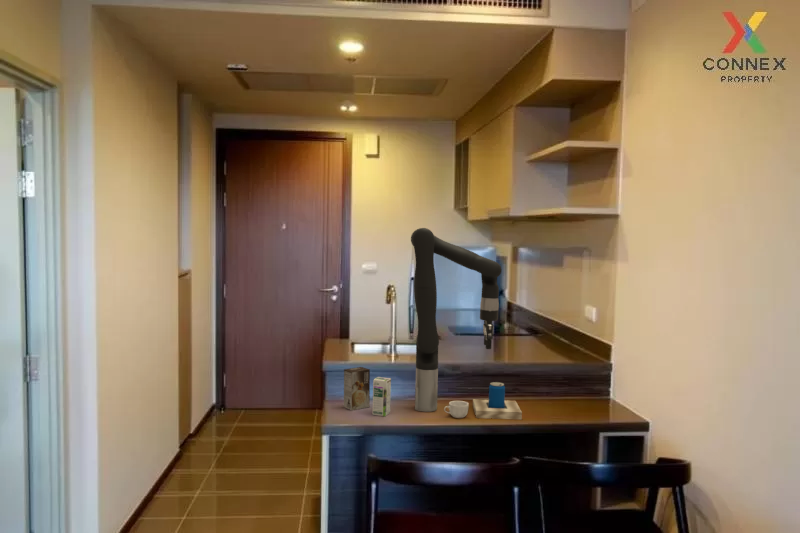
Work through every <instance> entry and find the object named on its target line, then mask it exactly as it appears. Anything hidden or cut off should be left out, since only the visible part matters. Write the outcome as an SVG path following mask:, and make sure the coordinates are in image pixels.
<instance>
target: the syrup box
mask: <svg viewBox="0 0 800 533" xmlns="http://www.w3.org/2000/svg"><path fill="white" fill-rule="evenodd" d="M391 384H392V378H391V377H383V376H382V377H381V376H377V377H375V378H374V379H373V381H372V386H373V387H372V413H371V414H372V416H379V417H387V416H388V415H389V414H391V393H392V392H391V388H392V387H391V386H392V385H391Z"/></svg>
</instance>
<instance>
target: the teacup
mask: <svg viewBox="0 0 800 533" xmlns="http://www.w3.org/2000/svg"><path fill="white" fill-rule="evenodd" d="M469 404H470V403H469V402H468V401H463V400H452V401H451V400H450V401H449V402H448V405H446V406H444V407H443V411H444V412H445V413H446V414H450V416H452V417H453V418H456V419H463V418H465V417H466V416H467V414H468V413H469ZM446 408H447V409H448V410H449V411H446Z"/></svg>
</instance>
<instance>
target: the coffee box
mask: <svg viewBox="0 0 800 533" xmlns="http://www.w3.org/2000/svg"><path fill="white" fill-rule="evenodd" d="M370 371H371V369H369V368H368V367H367V368H366V367H363V366H358V367H352V368H344V369H343V408H345V409H348V410H349V409H350V410H349V411H357V410H360V409H364V408H365V409H366V408H370V405H371V404H370V399H371V398H370V394H371V393H370V390H371V389H370V387H371V386H370V379H371V377H370V376H371V375H370V374H371V372H370Z"/></svg>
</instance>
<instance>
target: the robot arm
mask: <svg viewBox="0 0 800 533" xmlns="http://www.w3.org/2000/svg"><path fill="white" fill-rule="evenodd" d="M410 242H411V245H412V246H413V249H414V256H415V257H414V258H415V268H414V277H413V293H414V303H415V304H414V305H415V310H416V316H417V335H416V340H415V342H416V347H415V348H416V349H415V385H414V386H415V388H414V389H415V391H414V393H415V394H414V411H419V412H424V413H427V412H436V411H437V410H438V388H439V387H438V386H439V384H438V383H439V382H438V381H439V379H438V378H439V377H438V376H439V344H440V339H439V333H438V329H437V301H438V300H437V298H438V297H437V296H438V294H437V280H436V277H437V276H436V271H435V270H436V269H435V264H434V263H435V262H434V258H435V257H434V255H435V254H436V255H438V256H441V257H443V258H445V259H447V260H449V261H451V262H453V263H455V264H457V265H460V266H462V267H464V268H466V269H469V270H473V271H475V272H476V273H479V274H481V285H482V287H481V296H480V298H481V299H480V308H479V310H480V311H479V319H480V320H482V321H483V325H482V327H483V329H482V331H483V337H484V338H483V345H484V346H485V349H486V350H491V349H492V341H493V339H494V328H495V327H494V323H493V322H496V321H498V320H499V306H500V304H499V302H500V301H499V296H500V295H499V294H500V292H499V291H500V289H499V285H498V277H500V275H501V274H502V266H501V265H500V264H499V263H498V262H497V261H496V260H493V259H491V258H487V257H484V256H481V255H479V254H478V253H476V252H473V251H471V250H469V249H468V248H465V247H461V246H458V245H456V244H453V243H451V242H448V241H445V240H443V239H441V238H439V237H437V236H436V235H435V234H434V232H433V231H432V230H431V229H428V228H426V227H419V228H417V229H415V230H414V231H413V232H412V233H411V236H410Z"/></svg>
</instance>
